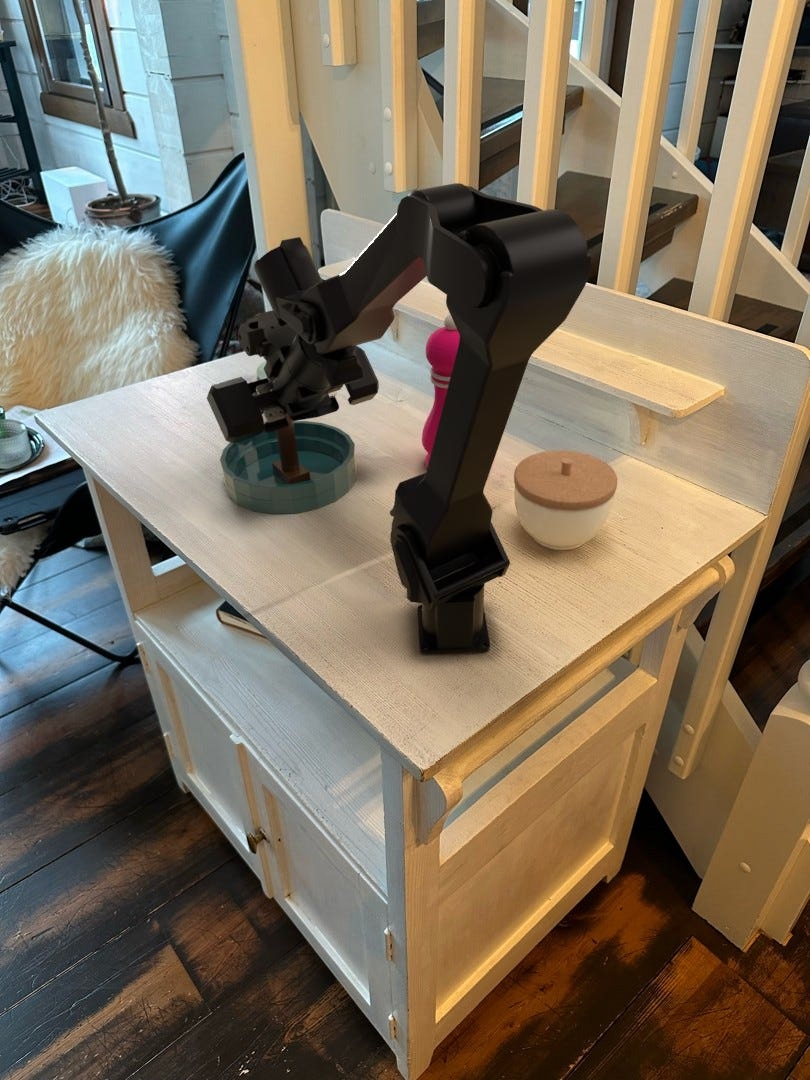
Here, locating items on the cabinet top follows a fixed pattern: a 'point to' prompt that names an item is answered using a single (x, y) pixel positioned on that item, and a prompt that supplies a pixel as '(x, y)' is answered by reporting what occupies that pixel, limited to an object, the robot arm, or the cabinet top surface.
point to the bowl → (318, 452)
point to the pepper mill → (439, 375)
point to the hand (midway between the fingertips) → (279, 420)
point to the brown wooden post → (289, 455)
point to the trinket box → (563, 497)
